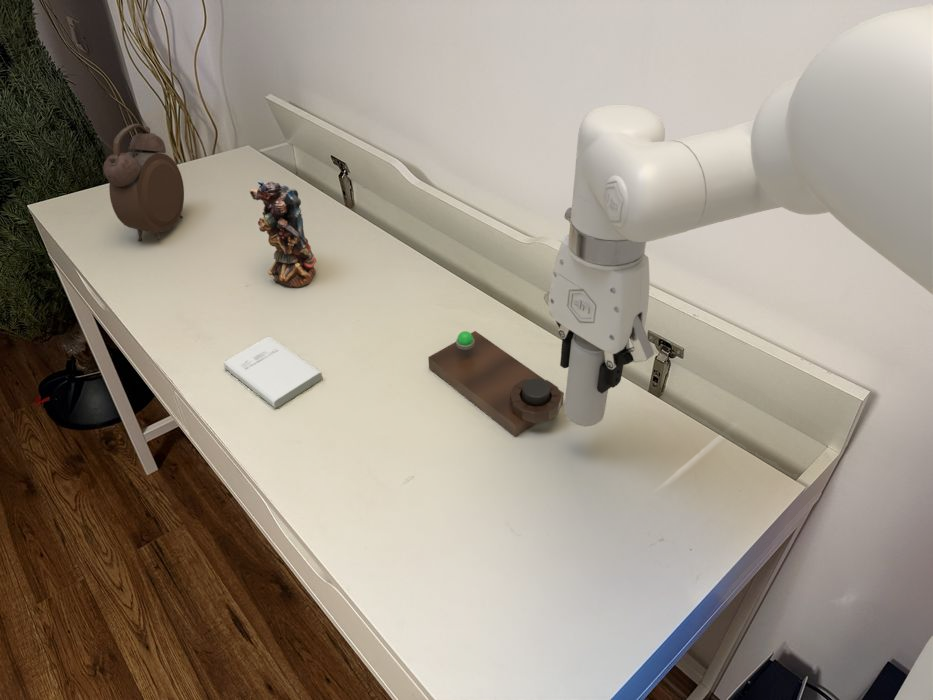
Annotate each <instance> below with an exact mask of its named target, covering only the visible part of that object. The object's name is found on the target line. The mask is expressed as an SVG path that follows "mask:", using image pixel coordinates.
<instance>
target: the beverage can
mask: <svg viewBox="0 0 933 700" xmlns="http://www.w3.org/2000/svg"><path fill="white" fill-rule="evenodd" d="M604 362H605V356H604V351H603V350H602V349H600V348H598V347H596V346H595V345H593V344H591V343H590V342H588V341H587V340H585V339H583V338H582V337H580V336H578V335H577V334H575V333H574V335H573V338H572V340H571V349H570V359H569V367H568V368H567V369H568V370H567V377H566V378H567V379H566V387H565V397H564V407H563V412H564V415H565V417H566V418H567V420H569V421H570V422H571V423H573V424H574V425H577V426H580V427H592V426H595V425H597V424H599V423H600V422H601V421H603V418H604V416H605V413H606V412H605V411H606V406H607V400H608V394H609V389H608V390H607V391H605V392H604V393H602V394H601V393H600V392H598V389H597V384H598V378H599V371H600V366H601V364H603V363H604Z"/></svg>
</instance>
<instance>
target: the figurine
mask: <svg viewBox="0 0 933 700" xmlns="http://www.w3.org/2000/svg"><path fill="white" fill-rule="evenodd" d="M257 184H258V185H259V186H258V189H256V188H253V189H250V190H249V193H250V196H251V197H252V200H254V201H262V204H263V205H264V206H263V211H262V217H260V218H259V219H258V221H257V225H258V227H259V231H260V232H263V233H265V232H266V233H267V235H268V240H267V242H268V244H269V246H271V247H275V251H274V253H273V260H274V262H273V263H272V266H271V267H270V268H269V270H268V271H267V274H268V275H269V276H273V279H272V280H273V282H275V283H276V284H278V285H280V286H284V287H286V288H300V287H303V286H305V285H308V284H310V282H312V280H313V278H314V276H315V274H316V268H315V264H317V259H316V257H315V254H314V253H313V251H312V248H311V245H310V243H309V240H308V239H307V238H306V235H305V231H304V220H303V219H304V218H303V216H302V215H303V214H302V209H301V208H300V207H301V204H302V201H301V199H300V197H299V192H298V190H297V189H295V188H292V189H290V187H289V186H287V185H285V184H282V183H280V182H275V181H266V182H265V180H258V181H257Z"/></svg>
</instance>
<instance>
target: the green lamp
mask: <svg viewBox="0 0 933 700" xmlns="http://www.w3.org/2000/svg"><path fill="white" fill-rule="evenodd" d="M471 333H472V332H470V331H467V330H465V331H464V330H463V331H461V332H459V334H458V335H457V338H456V339H455V342H456V345H457V347H458V348H460V349H463V350H467V349H471V348H472V347H473V346H474V344H475V341H474V338H473V336H472V334H471Z"/></svg>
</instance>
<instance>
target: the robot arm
mask: <svg viewBox="0 0 933 700" xmlns="http://www.w3.org/2000/svg"><path fill="white" fill-rule="evenodd" d="M665 129H666V128H665V125H664V122H663V120H662V119H661V118H660V116H659V115H658V114H657V113H655V112H654V111H652V110H650V109H648V108H645V107H643V106H638V105H633V104H625V103H624V104H623V103H622V104H621V103H619V104H617V103H616V104H606V105H602V106H598V107H596V108H594V109H592V110H590V111H589V112H588V113H586V115H585V116H584V117H583V118H582V120H581V122H580V125H579V128H578V134H577V144H576V155H575V156H576V157H575V164H574V165H575V166H574V167H575V168H574V177H573V188H572V189H573V190H572V198H571V199H572V200H571V207H568V208H567V209H566V210H565V213H564V220H566V221H568V222H569V233H568V234H567V235H565V236H564V237H563V239H562V240H561V242H560V246H559V249H558V251H557V255H556V257H555V261H554V265H553V269H552V274H551V279H550V286H549V291H548V292H546V293H545V294H544V295H543V300H544V302H545V303H546V305H547V309H548V313H549V315H550V317H552V319H553V320H554V321H555V322H556V325H557V327H558V330H557V335H558V337H559V338H560V339H561V350H560V362H559V363H560V364H559V366H560V367H561V368H563V369H568V368H569V359H570V349H571V340H572V338H573V335H574V333H575V334H577V335H578V336H580V337H582V338H583V339H585V340H587V341H588V342H590V343H591V344H593V345H595V346H596V347H598V348H600V349H602V350H603V351H604V356H605V362H604V363H603V364H601V366H600V371H599V378H598V384H597V389H598V392H600V393H601V394H602V393H604V392H605V391H607V390H608V391H609V390H610V389H611V388H612V389H614V388H615V387H617V386H618V385H619V384H620V383H621V381H622V376H623V371H624V366H626V365H629V364H632V363H641V362H647V361H648V360H650V359H651V358H652V357H653V356H654V355H655V352H654V348H653V346H652V344H651V341H650V339H649V337H648V335H647V332H646V331H645V327H646V322H647V316H648V309H649V299H650V281H651V279H650V261H649V257H648V255H646V254H645V252H646V246H647V243H648V242H652V241H653V242H654V241H657V240H661V239H665V238H668V237H672V236H675V235H680V234H682V233H687V232H689V231H692V230H696V229H699V228H702V227H703V228H704V227H706V226H710V225H711V226H712V225H715V224H717V223H723V222H726V221H730V220H734V219H739V218H741V217H745V216H748V215H753V214H756V213H762V212H767V211H770V210H774V209H779V208H782V209H784V210H787V211H789V212H792V213H795V214H798V215H803V216H804V215H805V216H811V215H813V216H814V215H821V214H827V213H828V214H829V213H830V215H832V216H833V217H834V218H835V219H836V221H838V222H839V223H840V224H841V225H842V226H844V227H845V228H846V229H847V230H848V231H850V232H851V233H852V234H853V235H854V236H856V237H857V238H858V239H860V240H861V241H862V242H863V243H864V244H866V245H868V247H870V248H871V249H872V250H874V251H875V252H876V253H877V254H879V255H880V256H881V257H883V258H885V260H887V261H888V262H890V263H891V264H892V265H894V266H895V267H896V268H898V269H899V270H900V271H901V272H903V273H904V274H905V275H906V276H908V277H909V278H910V279H912V280H913V281H914V282H916V283H917V284H918V285H919V286H921V287H922V288H924V289H925V290H926V291H927V292H928V293H930V294H931V295H933V3H929V4H923V5H916V6H912V7H906V8H903V9H898V10H893V11H888V12H884V13H881V14H878V15H876V16H874V17H871V18H868V19H866V20H863V21H861V22H859V23H857V24H855V25H853V27H851V28H848V29H847V30H846V31H843V32H842V33H840V34H839V35H837V36H836V37H835V38H834V39H833V40H831V41H830V42H829V43H828V44H826V45H825V46H824V47H823V48H822V49H821V50H820V51H819V52H818V53H817V54H816V55H815V56H814V57H813V59H812V60H811V61H810V62H809V63H808V65H807V66H806V68H805V69H804V71H803V72H802V74H801V75H798V76H795V77H794V78H791V79H789V80H786V81H784V82H783V83H781V84H780V85H779V86H777V87H776V88H774V89H773V91H772V92H771V93H770V94H769V95H768V96H767V97H766V98H765V99H764V100H763V101H762V104H760V106H759V109H758V111H757V113H756V115H755V117H754V119H750V120H748V121H745V122H742V123H739V124H736V125H732V126H729V127H725V128H721V129H717V130H711V131H707V132H700V133H697V134H694V135H688V136H685V137H679V138H675V139H670V140H666V141H665V139H666V138H665V137H666V130H665ZM630 342H631V345H632V347H630ZM893 700H933V635H932V636H931V637H930V638H929V639H928V641H927V642H926V644H925V645H924V647H923V648H922V650H921V652H920V654H919V655H918V656H917V659H916V660H915V662H914V664H913V666H912V667H911V669H910V671H909V673H908V675H907V676H906V678H905V680H904V681H903V683H902V685H901V686H900V689H899V690H898V692H897V694H896V696H895V697H894V699H893Z"/></svg>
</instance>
